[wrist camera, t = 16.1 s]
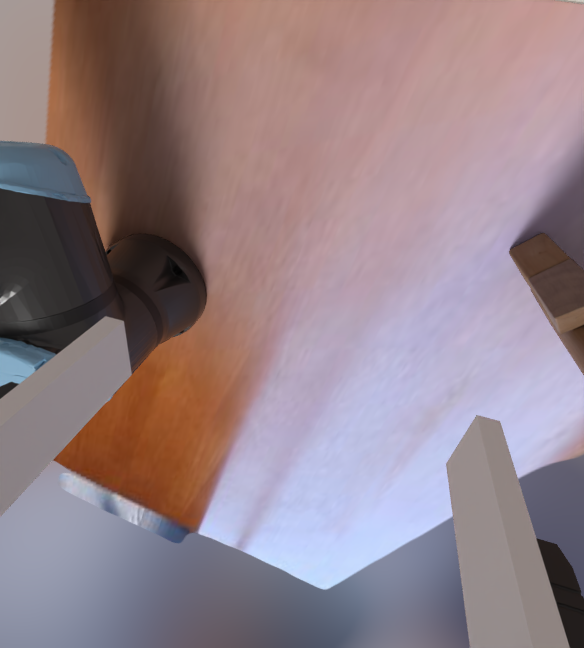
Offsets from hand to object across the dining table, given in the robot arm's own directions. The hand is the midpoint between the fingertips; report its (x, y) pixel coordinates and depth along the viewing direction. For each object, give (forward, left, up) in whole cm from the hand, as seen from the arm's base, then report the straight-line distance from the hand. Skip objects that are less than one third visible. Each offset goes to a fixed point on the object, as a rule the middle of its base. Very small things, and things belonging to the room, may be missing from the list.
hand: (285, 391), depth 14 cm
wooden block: (+22, -5, -32) cm, 39 cm away
